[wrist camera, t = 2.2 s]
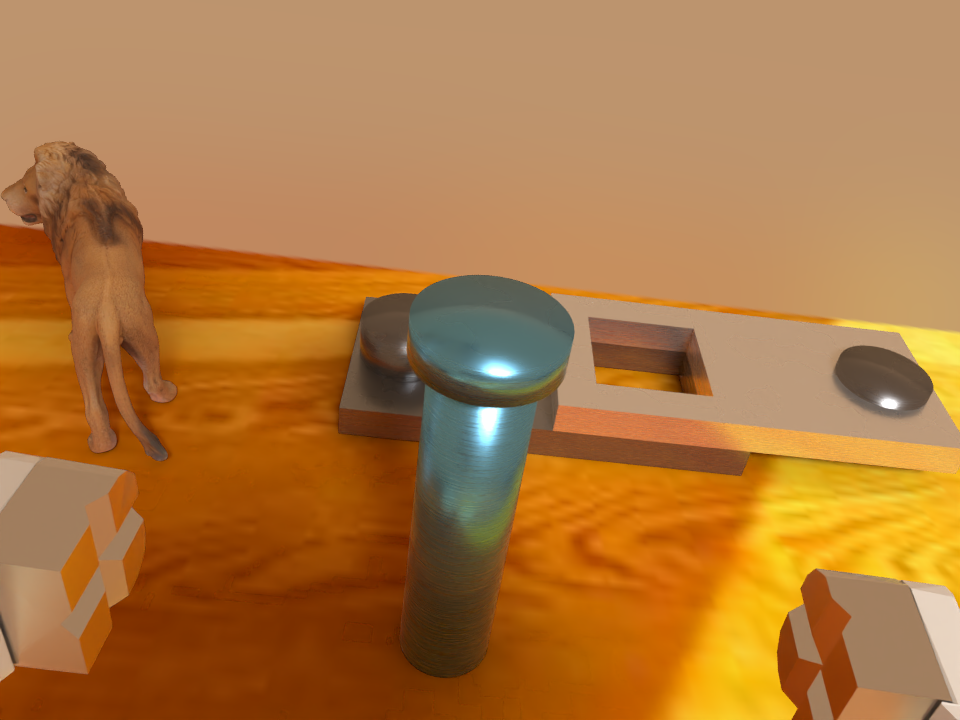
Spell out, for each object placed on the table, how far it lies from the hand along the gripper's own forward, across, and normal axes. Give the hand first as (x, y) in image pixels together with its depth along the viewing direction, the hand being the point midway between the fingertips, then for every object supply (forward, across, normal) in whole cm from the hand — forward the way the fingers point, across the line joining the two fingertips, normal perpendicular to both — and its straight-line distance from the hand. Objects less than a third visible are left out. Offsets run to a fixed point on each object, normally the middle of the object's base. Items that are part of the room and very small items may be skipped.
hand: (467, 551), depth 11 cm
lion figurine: (+24, +18, +19) cm, 36 cm away
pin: (+12, 0, +19) cm, 22 cm away
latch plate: (+28, -7, +19) cm, 34 cm away
